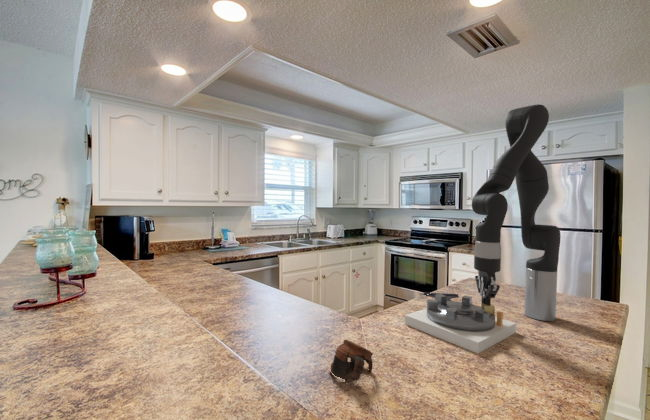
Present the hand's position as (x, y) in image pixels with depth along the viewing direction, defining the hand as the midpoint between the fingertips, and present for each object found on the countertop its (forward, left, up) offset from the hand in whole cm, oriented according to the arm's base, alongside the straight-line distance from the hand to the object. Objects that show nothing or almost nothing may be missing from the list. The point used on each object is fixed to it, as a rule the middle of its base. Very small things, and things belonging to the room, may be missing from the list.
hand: (485, 308), depth 99 cm
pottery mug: (+54, -4, -7) cm, 55 cm away
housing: (+7, -5, -6) cm, 11 cm away
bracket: (-16, -24, -7) cm, 29 cm away
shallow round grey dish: (+7, -5, -3) cm, 9 cm away
